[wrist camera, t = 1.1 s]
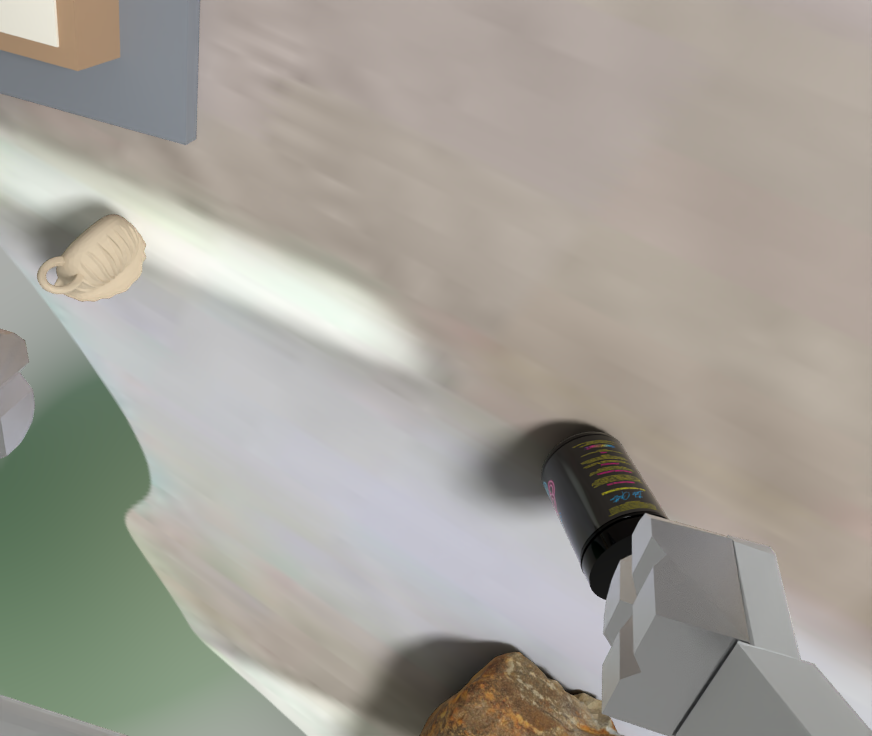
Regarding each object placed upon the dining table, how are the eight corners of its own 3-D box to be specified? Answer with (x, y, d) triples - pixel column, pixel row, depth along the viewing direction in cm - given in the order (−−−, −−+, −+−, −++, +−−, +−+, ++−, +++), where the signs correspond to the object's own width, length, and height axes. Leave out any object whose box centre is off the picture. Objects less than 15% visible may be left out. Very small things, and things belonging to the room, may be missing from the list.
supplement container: (529, 446, 56) (580, 554, 47) (615, 414, 56) (682, 516, 47) (547, 505, 60) (597, 614, 51) (627, 475, 60) (691, 579, 51)
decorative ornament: (165, 257, 56) (152, 214, 51) (76, 333, 53) (54, 295, 48) (124, 225, 57) (108, 180, 52) (34, 299, 53) (7, 258, 48)
